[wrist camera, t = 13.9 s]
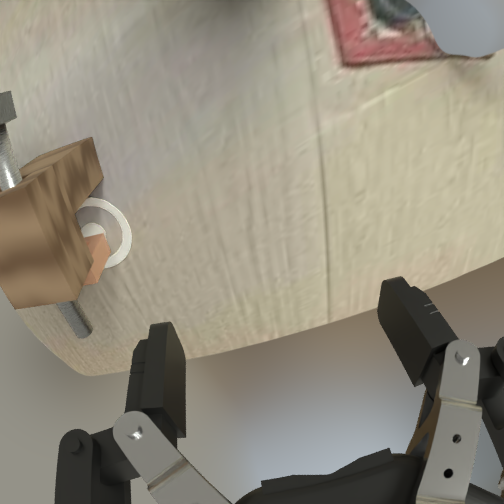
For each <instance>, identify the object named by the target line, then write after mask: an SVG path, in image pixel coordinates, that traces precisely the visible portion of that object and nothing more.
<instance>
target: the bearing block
mask: <svg viewBox="0 0 504 504" xmlns="http://www.w3.org/2000/svg"><path fill="white" fill-rule="evenodd" d="M19 171H20V174H21V177H22V181H21V182H19V183H18V184H17V185H16V186H14V187H11V188H9V189H6V190H4V191H2V190H1V187H0V286H1V288H2V289H3V291H4V293H5V294H6V296H7V298H8V299H9V301H10V303H11V304H12V306H13V307H14V309H21V308H28V307H35V306H41V305H48V304H54V303H60V302H67V301H73V300H77V298H78V296H79V294H80V291H81V289H82V287H83V284H84V282H85V280H86V278H87V275H88V273H89V271H90V269H91V267H92V264H93V262H94V260H93V257H92V255H91V253H90V251H89V248H88V246H87V244H86V241H85V239H84V237H83V234H82V232H81V229H80V227H79V224H78V222H77V219H76V217H75V213H76V212H77V210H78V209H79V208H80V207H81V205H82V204H83V203H84V201H85V200H86V199H87V198H88V196H89V195H90V194H91V193H92V191H93V190H94V189H95V188H96V186H97V185H98V184H99V183H100V182H101V180H102V179H103V178H104V177H103V174H102V170H101V167H100V164H99V160H98V157H97V153H96V150H95V146H94V143H93V139H92V137H89V138H86V139H83V140H81V141H78V142H75V143H72V144H69V145H66V146H64V147H61V148H58V149H56V150H53V151H50V152H48V153H45V154H43V155H40V156H38V157H37V158H35V159H34V160H32V161H31V162H29V163H28V164H26V165H25V166H24V167H22V168H21V169H19Z"/></svg>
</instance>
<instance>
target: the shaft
mask: <svg viewBox="0 0 504 504" xmlns="http://www.w3.org/2000/svg"><path fill="white" fill-rule="evenodd" d="M15 118H17V116H16V112H15V108H14V104H13V99H12V95H11V91H7V92H3V93H0V187H1V190H2V191H4V190H6V189H9V188H11V187H14V186H16V185H17V184H18V183H19V182H21V181H22V177H21V174H20V171H19V168H18V165H17V162H16V159H15V156H14V153H13V149H12V146H11V143H10V139H9V136H8V132H7V128H6V123H7V122H9V121H11V120H13V119H15ZM56 304H57V306H58V307H59V309H60V311H61V312H62V314H63V315H64V317H65V319H66V320H67V322H68V323H69V325H70V327H71V328H72V330H73V331H74V333H75V334H76V336H77V337H78V338H86V337H87V336H89V335H90V334H91V333H92V331H93V326H92V325H91V323H90V321H89V320H88V318H87V316H86V315H85V313H84V311H83V309H82V308H81V306H80V304H79V302H78V301H77V300H73V301H67V302H60V303H56Z"/></svg>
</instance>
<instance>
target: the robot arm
mask: <svg viewBox="0 0 504 504" xmlns="http://www.w3.org/2000/svg"><path fill="white" fill-rule="evenodd" d="M377 312H378V319H379V322H380V324H381V326H382V328H383V329H384V331H385V333H386V335H387V337H388V338H389V340H390V342H391V344H392V345H393V348H394V349H395V351H396V353H397V355H398V356H399V359H400V361H401V362H402V364H403V366H404V368H405V370H406V372H407V374H408V376H409V378H410V380H411V382H412V384H413V385H414V387H416V386H418V385H421V384H423V383H424V385H425V386H426V390H425V393H424V397H423V401H422V405H421V410H420V413H419V417H418V421H417V425H416V429H415V432H414V434H413V437H412V439H411V441H410V443H409V445H408V448H407V450H406V453H405V454H402V453H401V454H400V453H398V454H391V451H390V448H387V449H384V450H381V451H379V452H376V453H373V454H370V455H367V456H364V457H361V458H359V459H357V460H355V461H353V462H352V463H350V464H348V465H347V466H345V467H343V468H341V469H339V470H337V471H336V472H334V473H332V474H328V475H291V476H286V477H281V478H276V479H270V480H263V481H261V485H262V487H260V488H257V489H255V490H253V491H251V492H249V493H248V494H246V495H245V496H243V497H242V498H241V499H239V500H238V501H237V502H236V503H235V504H504V337H502V338H500V339H499V341H498V343H497V344H496V346H495V347H484V348H477V347H476V346H475V345H474V344H473V343H471V342H469V341H467V340H462V339H461V340H459V339H458V337H457V336H456V335H455V333H454V332H453V330H452V329H451V327H450V326H449V325H448V323H447V322H446V320H445V319H444V318H443V316H442V315H441V313H440V312H438V309H437V308H436V307H435V305H434V304H432V301H431V300H430V299H429V297H428V296H427V295H426V293H424V292H423V291H421V290H420V289H418V288H417V287H415V286H413V287H410V286H409V284H408V283H407V282H406V280H405V279H404V278H403V277H401V276H400V277H396V278H391V279H387V280H384V281H383V282H382V285H381V291H380V297H379V303H378V310H377ZM185 373H186V360H185V354H184V350H183V347H182V345H181V343H180V340H179V338H178V336H177V334H176V331H175V329H174V327H173V324H172V323H171V322H164V323H158V324H151V326H150V329H149V336H148V339H144V340H140V341H139V343H138V345H137V346H136V348H135V349H134V351H133V357H132V365H131V370H130V374H131V375H130V377H129V385H128V392H127V400H126V408H125V412H124V414H123V415H121V416H120V417H119V418H118V419H117V421H116V422H115V424H114V426H113V427H112V428H109V429H107V430H104V431H101V432H98V433H95V434H91V435H89V434H88V433H87V432H86V431H84V430H81V429H74V430H71V431H69V432H67V433H66V434H65V435H64V436H63V438H62V439H61V441H60V445H59V453H58V463H57V473H56V487H55V504H131V486H130V480H131V479H135V478H138V477H142V478H143V480H144V481H145V482H146V484H147V485H148V491H149V492H150V494H151V495H152V497H153V498H154V499H155V500H156V502H157V503H158V504H232V503H231V502H230V501H229V500H228V499H227V498H226V497H224V496H223V495H222V494H221V493H220V492H219V491H218V490H217V489H216V488H215V487H214V486H213V485H212V484H211V483H209V482H208V481H207V480H206V479H205V478H204V477H203V476H202V475H201V474H200V473H199V472H198V471H197V470H196V469H195V468H194V466H193V465H192V464H190V462H189V461H188V460H187V459H186V458H185V457H184V456H183V455H182V454H181V453H180V452H179V450H178V449H177V438H186V406H185V405H186V399H185V395H186V393H185V388H186V383H185V382H186V374H185ZM481 418H482V419H483V422H484V424H485V426H486V428H487V430H488V433H489V435H490V437H491V440H492V442H493V444H494V447H495V449H496V452H497V454H498V457H499V459H500V462H501V464H502V467H503V471H502V473H501V478H500V481H499V483H498V487H499V489H500V490H501V496H498V495H495V494H493V493H491V492H488V491H486V490H484V489H482V488H480V487H478V486H476V485H473V484H471V483H469V482H470V478H471V474H472V469H473V465H474V460H475V455H476V450H477V444H478V438H479V432H480V425H481Z"/></svg>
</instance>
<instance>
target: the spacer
mask: <svg viewBox="0 0 504 504" xmlns="http://www.w3.org/2000/svg"><path fill="white" fill-rule="evenodd" d="M84 239H85V241H86V244H87V246H88V248H89V251H90V253H91V255H92V257H93V260H94V262H93V264H92V267H91V269H90V271H89V273H88V275H87V278H86V280H85V282H84V284H83V286H84V285H90V284H95V283H98V281H99V278H100V276H101V273H102V271H103V269H104V266H105V264H106V262H107V260H108V257H109V255H110V253H111V250H110V248H109V245H108V243H107V240H106V238H105V235H104V233H101V234H97V235H93V236H89V237H84Z"/></svg>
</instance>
